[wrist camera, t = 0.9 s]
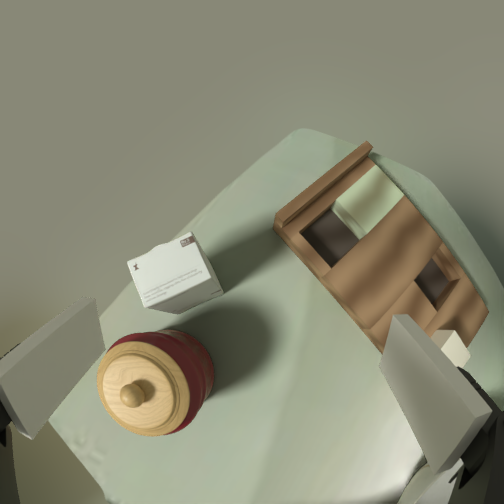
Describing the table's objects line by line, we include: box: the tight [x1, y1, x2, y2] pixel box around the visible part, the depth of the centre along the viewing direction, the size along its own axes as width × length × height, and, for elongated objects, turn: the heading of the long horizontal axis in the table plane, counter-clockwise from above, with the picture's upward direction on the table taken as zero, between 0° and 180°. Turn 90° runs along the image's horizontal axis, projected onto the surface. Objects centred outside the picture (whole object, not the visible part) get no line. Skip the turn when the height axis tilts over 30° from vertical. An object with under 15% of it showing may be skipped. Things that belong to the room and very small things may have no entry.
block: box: [431, 330, 471, 368], centre depth 34 cm, size 6×6×5 cm
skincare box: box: [127, 231, 224, 314], centre depth 36 cm, size 8×6×15 cm
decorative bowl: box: [398, 458, 463, 504], centre depth 28 cm, size 27×27×12 cm
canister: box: [97, 330, 214, 436], centre depth 32 cm, size 13×13×18 cm
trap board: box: [273, 141, 489, 355], centre depth 40 cm, size 38×20×7 cm, turn 41°
